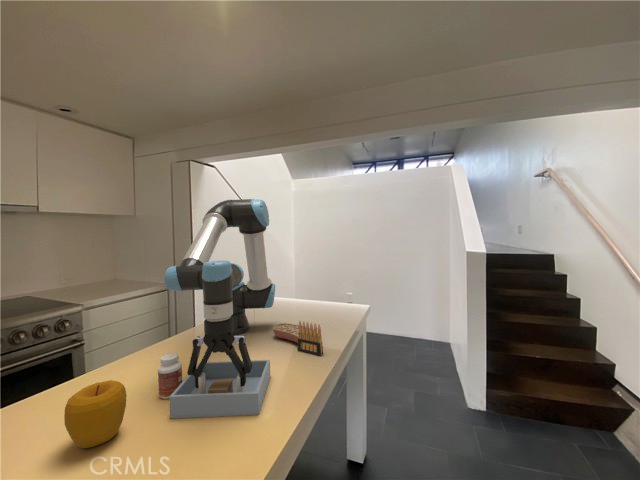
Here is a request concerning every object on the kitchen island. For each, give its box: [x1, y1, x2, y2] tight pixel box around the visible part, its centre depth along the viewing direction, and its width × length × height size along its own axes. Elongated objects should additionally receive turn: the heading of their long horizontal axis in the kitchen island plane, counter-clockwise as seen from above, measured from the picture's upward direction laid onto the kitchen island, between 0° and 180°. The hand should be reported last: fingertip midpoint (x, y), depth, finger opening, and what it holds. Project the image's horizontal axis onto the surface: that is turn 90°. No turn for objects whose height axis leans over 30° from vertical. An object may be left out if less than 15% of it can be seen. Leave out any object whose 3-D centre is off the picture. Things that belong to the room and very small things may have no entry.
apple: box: [63, 379, 128, 449], centre depth 62 cm, size 11×11×13 cm
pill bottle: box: [157, 352, 183, 400], centre depth 80 cm, size 6×6×11 cm
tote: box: [168, 359, 271, 419], centre depth 78 cm, size 19×23×6 cm
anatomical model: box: [272, 322, 314, 344], centre depth 118 cm, size 23×10×5 cm, turn 51°
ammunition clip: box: [297, 320, 324, 357], centre depth 105 cm, size 11×2×12 cm, turn 60°
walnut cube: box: [208, 379, 233, 394], centre depth 74 cm, size 5×5×5 cm
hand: (221, 397), depth 74 cm, fingers open, 10 cm apart
